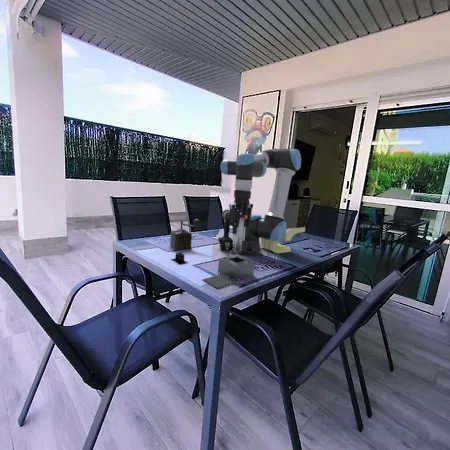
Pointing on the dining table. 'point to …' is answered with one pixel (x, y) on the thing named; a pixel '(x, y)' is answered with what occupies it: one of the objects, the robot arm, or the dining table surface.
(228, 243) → the power drill
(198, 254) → the dining table surface
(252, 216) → the robot arm
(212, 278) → the rubber mat
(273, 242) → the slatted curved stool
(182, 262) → the black notched block
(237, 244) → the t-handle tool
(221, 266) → the block
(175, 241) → the manual coffee grinder
